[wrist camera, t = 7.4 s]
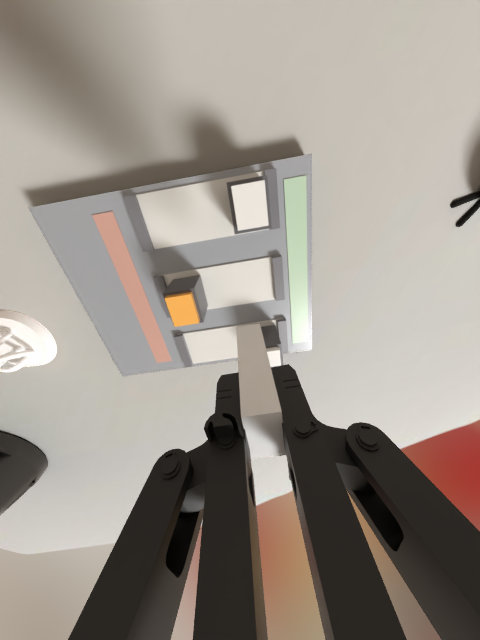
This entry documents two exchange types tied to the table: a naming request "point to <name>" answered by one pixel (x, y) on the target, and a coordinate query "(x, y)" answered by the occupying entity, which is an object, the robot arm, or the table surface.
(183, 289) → the breaker mid
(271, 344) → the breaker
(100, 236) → the panel
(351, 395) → the table surface
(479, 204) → the toy
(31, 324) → the figurine
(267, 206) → the block
